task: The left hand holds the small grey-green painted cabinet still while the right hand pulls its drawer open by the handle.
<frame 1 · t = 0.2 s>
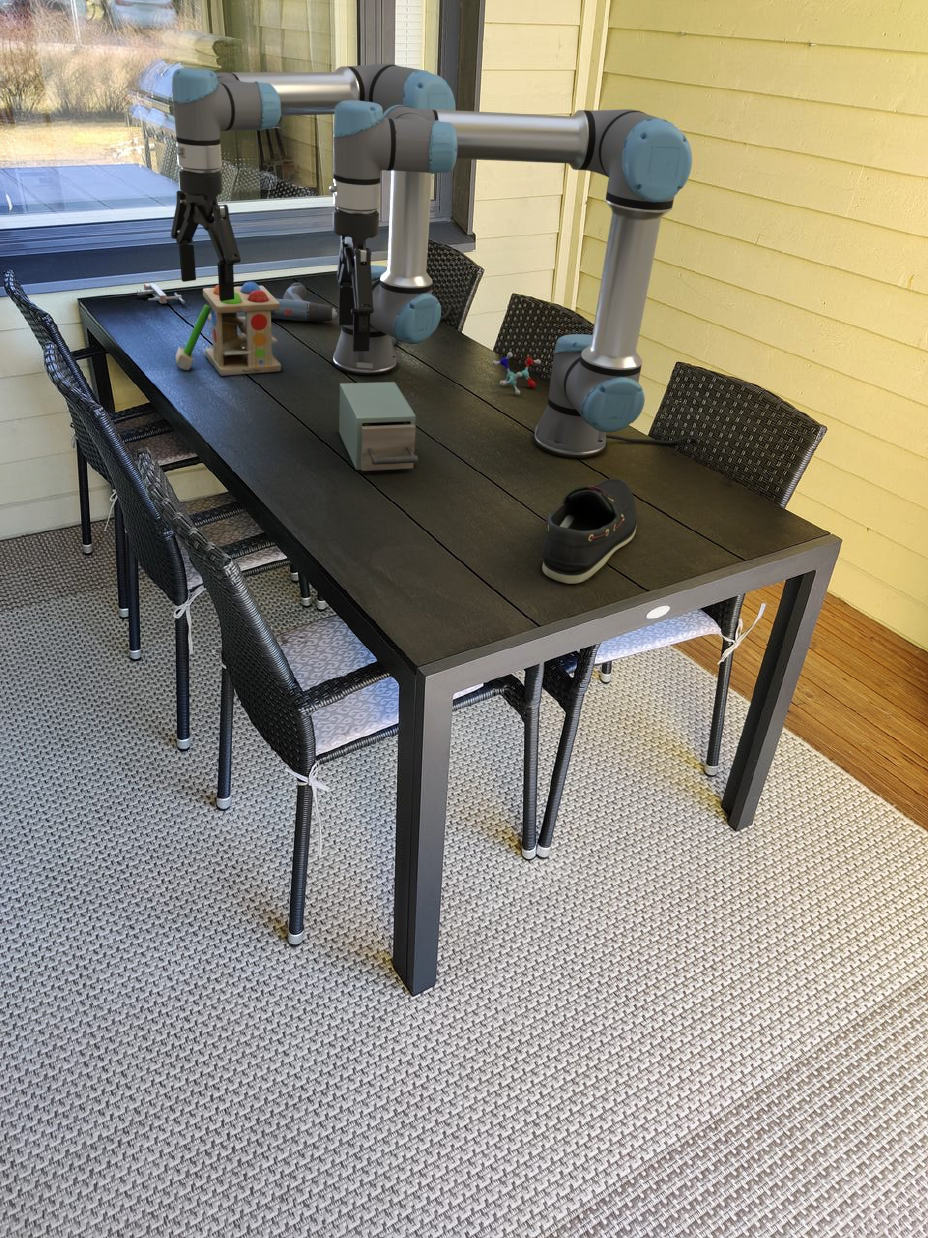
left hand: (207, 289, 186), 28 cm above the table, tool pointing down, fingers open, 13 cm apart
right hand: (353, 337, 171), 28 cm above the table, tool pointing down, fingers open, 13 cm apart
boat shoe: (588, 541, 175), on the table
cabinet: (375, 449, 199), on the table
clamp: (159, 299, 266), on the table
drawer: (382, 437, 191), point 5 cm above the table, slide at 1.4 cm
molecular model: (512, 388, 234), on the table
pounding bench toy: (225, 365, 230), on the table
power drill: (305, 313, 267), on the table
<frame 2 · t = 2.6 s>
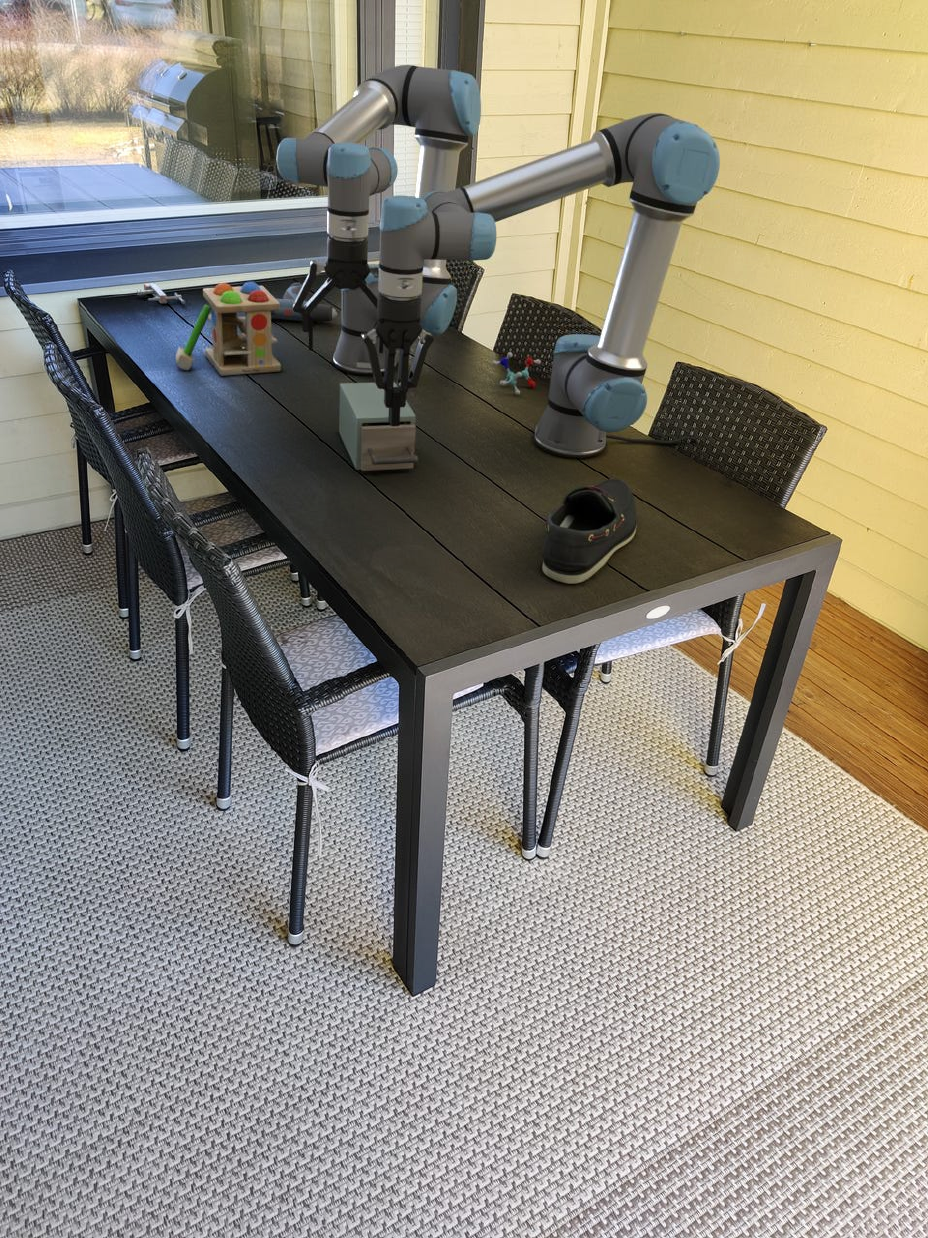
left hand: (345, 349, 192), 18 cm above the table, tool pointing down, fingers open, 13 cm apart
right hand: (393, 423, 181), 12 cm above the table, tool pointing down, fingers closed
nothing on the table moved.
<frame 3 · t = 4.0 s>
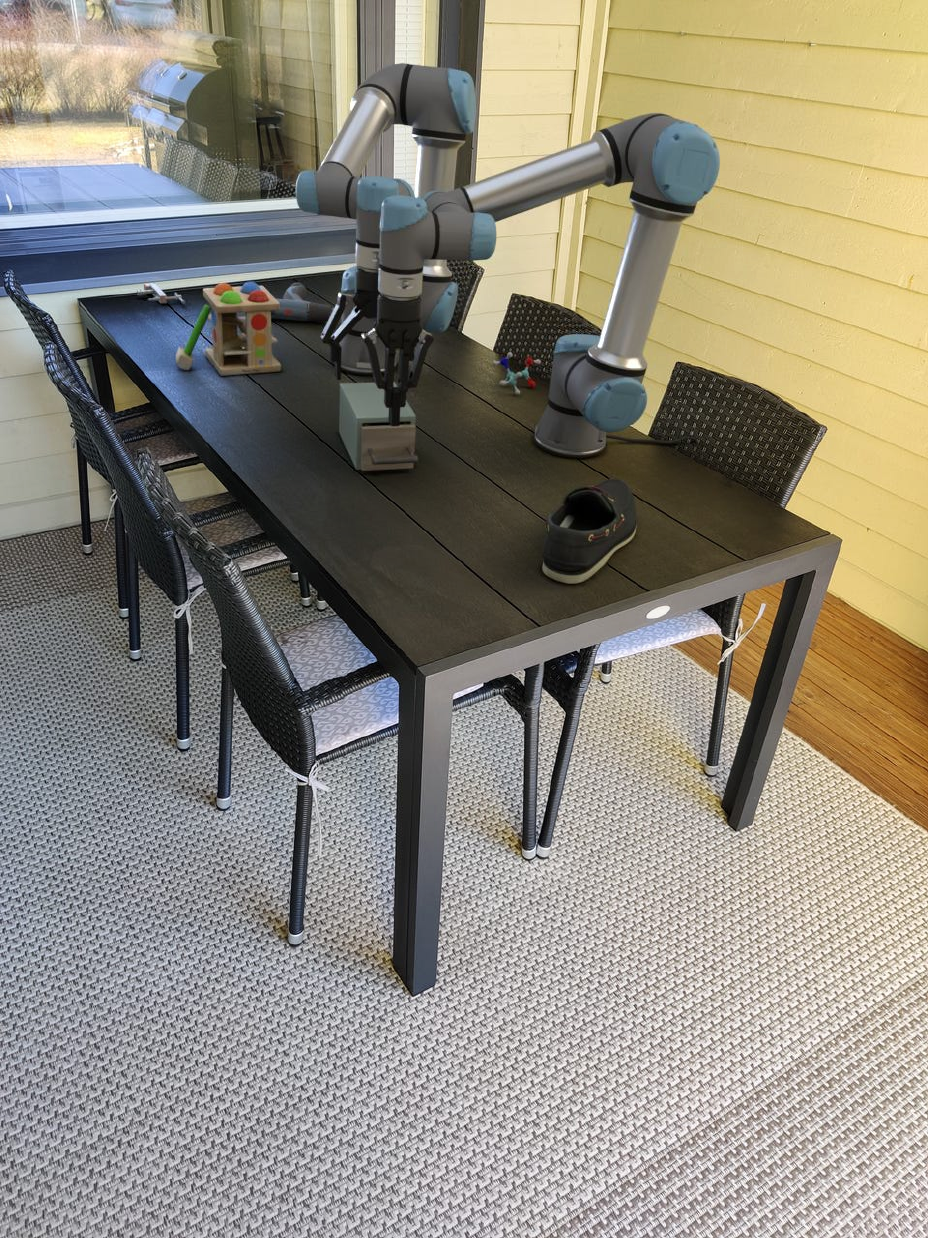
left hand: (371, 376, 195), 13 cm above the table, tool pointing down, fingers open, 13 cm apart
right hand: (393, 423, 181), 12 cm above the table, tool pointing down, fingers closed
nothing on the table moved.
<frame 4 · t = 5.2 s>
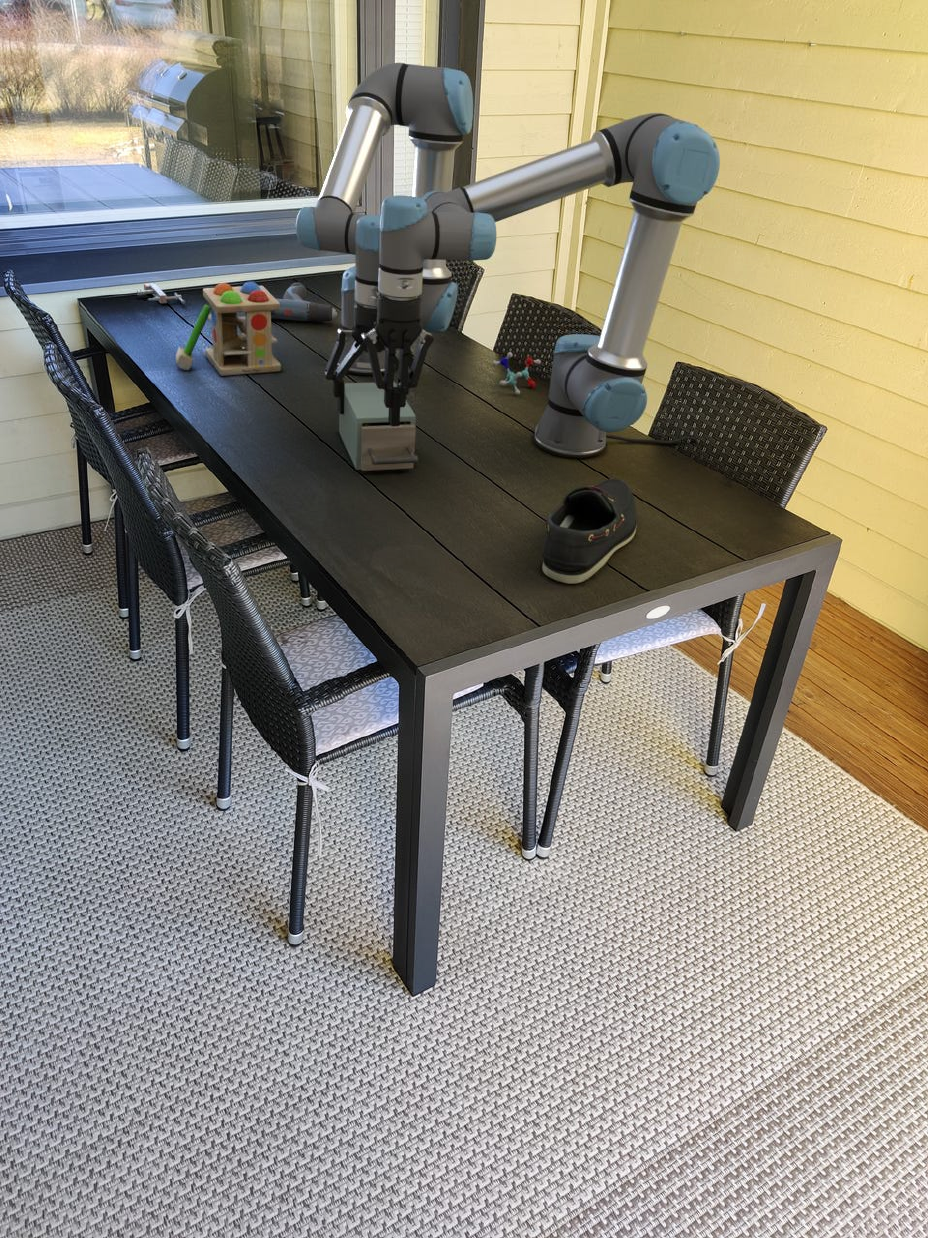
left hand: (370, 410, 200), 6 cm above the table, tool pointing down, fingers closed on cabinet, 11 cm apart
right hand: (393, 423, 181), 12 cm above the table, tool pointing down, fingers closed
cabinet: (375, 449, 199), on the table, touching left hand
everything else where it was.
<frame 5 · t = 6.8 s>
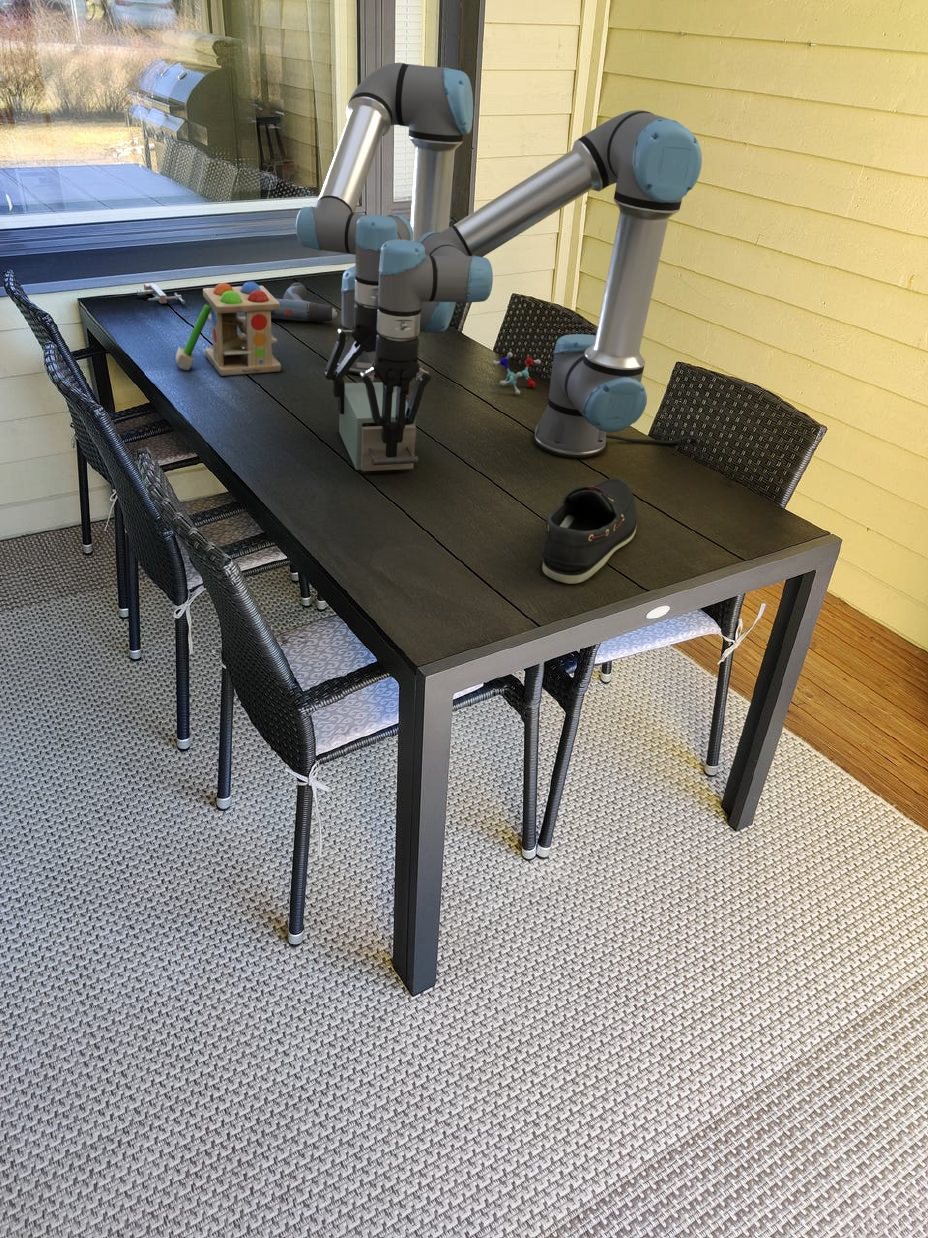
left hand: (370, 410, 200), 6 cm above the table, tool pointing down, fingers closed on cabinet, 11 cm apart
right hand: (390, 457, 185), 5 cm above the table, tool pointing down, fingers closed
cabinet: (375, 449, 199), on the table, touching left hand
everything else where it was.
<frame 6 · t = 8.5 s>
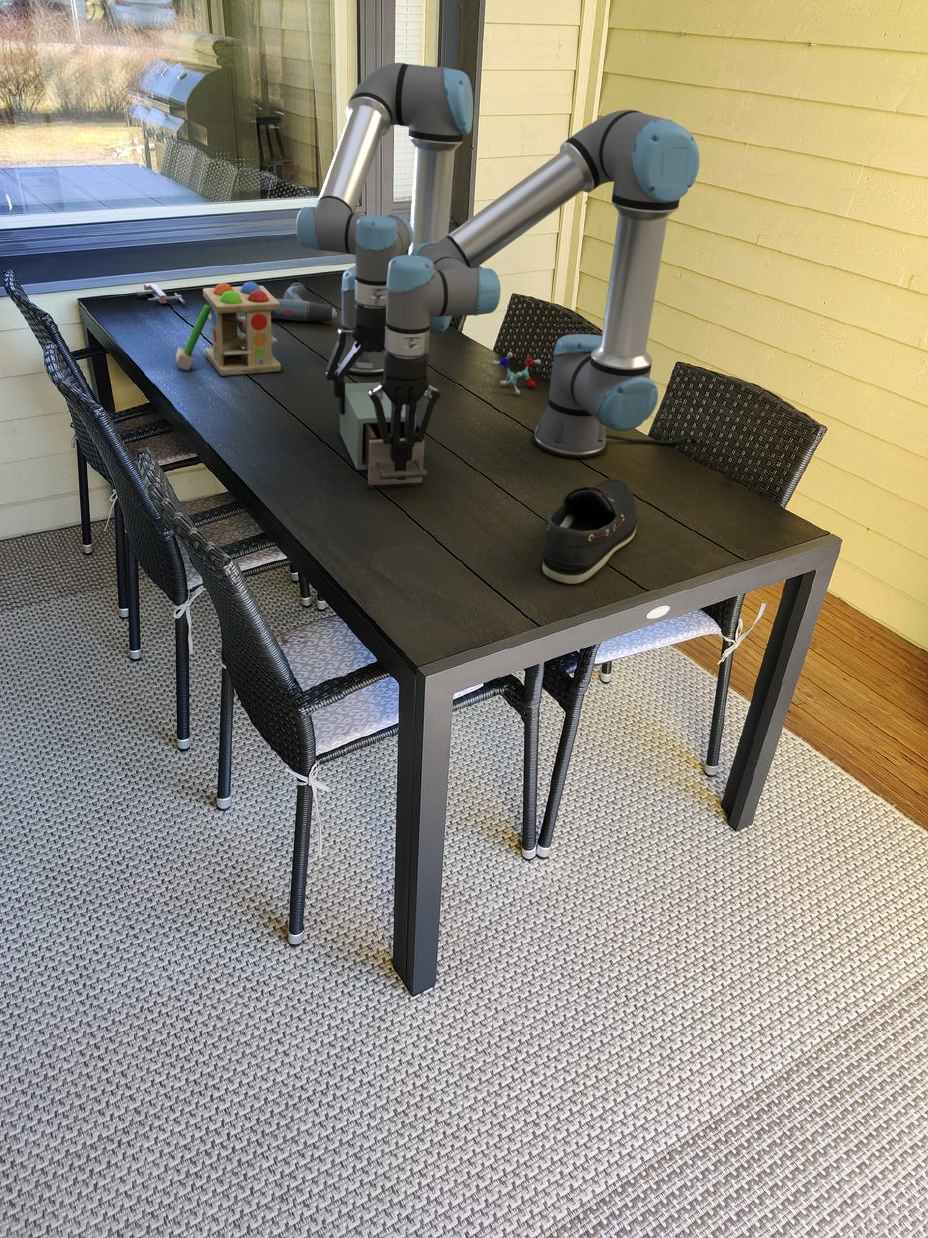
left hand: (371, 410, 200), 6 cm above the table, tool pointing down, fingers closed on cabinet, 11 cm apart
right hand: (400, 476, 181), 4 cm above the table, tool pointing down, fingers closed
cabinet: (375, 449, 199), on the table, touching left hand
drawer: (390, 450, 186), point 5 cm above the table, slide at 7.4 cm, touching right hand
everything else where it was.
when the left hand's fingers open (6 cm above the table, at t = 10.3 s): cabinet stays where it is, on the table.
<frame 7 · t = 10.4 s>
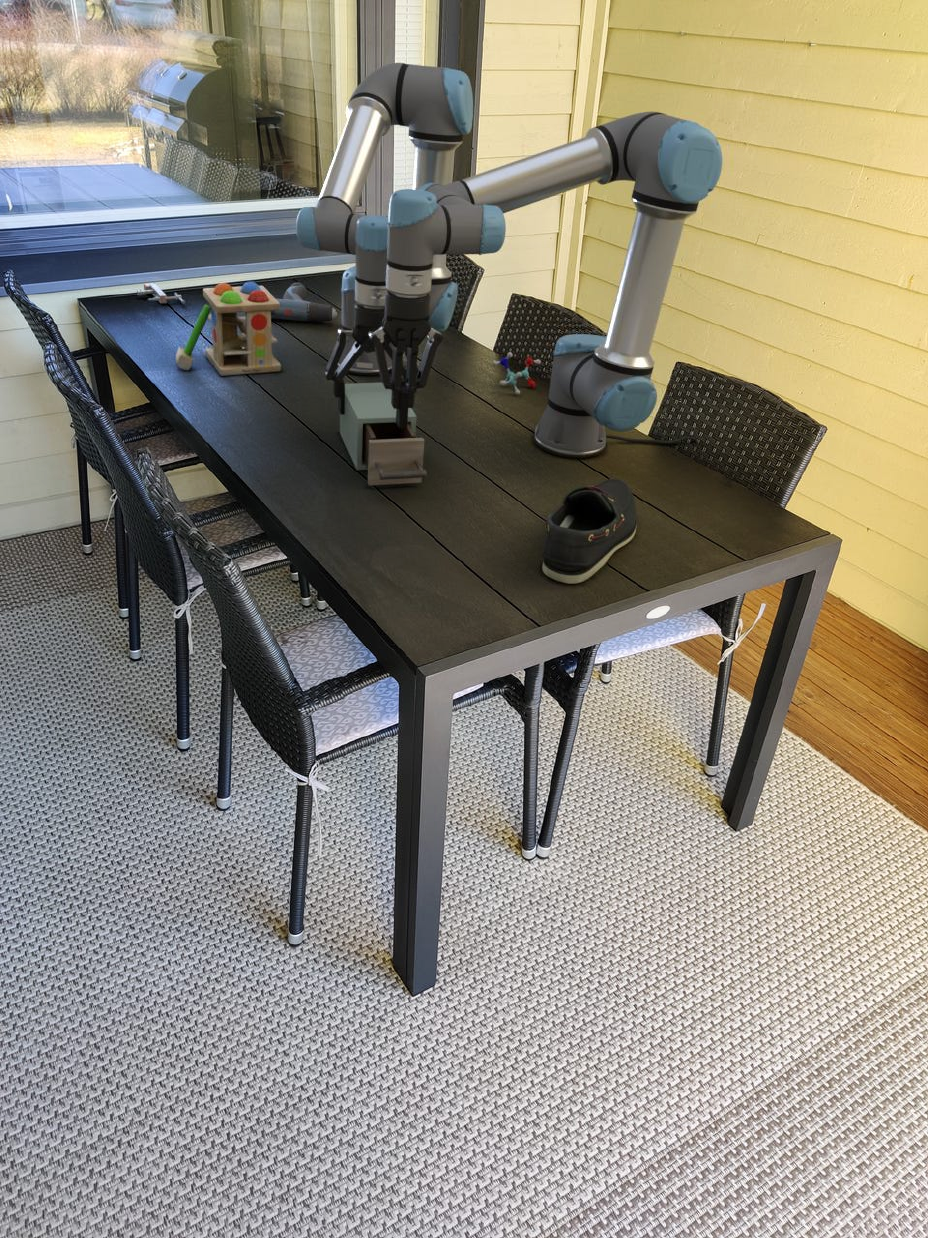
left hand: (371, 410, 200), 6 cm above the table, tool pointing down, fingers open, 11 cm apart
right hand: (401, 424, 176), 14 cm above the table, tool pointing down, fingers closed
cabinet: (375, 449, 199), on the table
drawer: (390, 450, 186), point 5 cm above the table, slide at 7.4 cm
everything else where it was.
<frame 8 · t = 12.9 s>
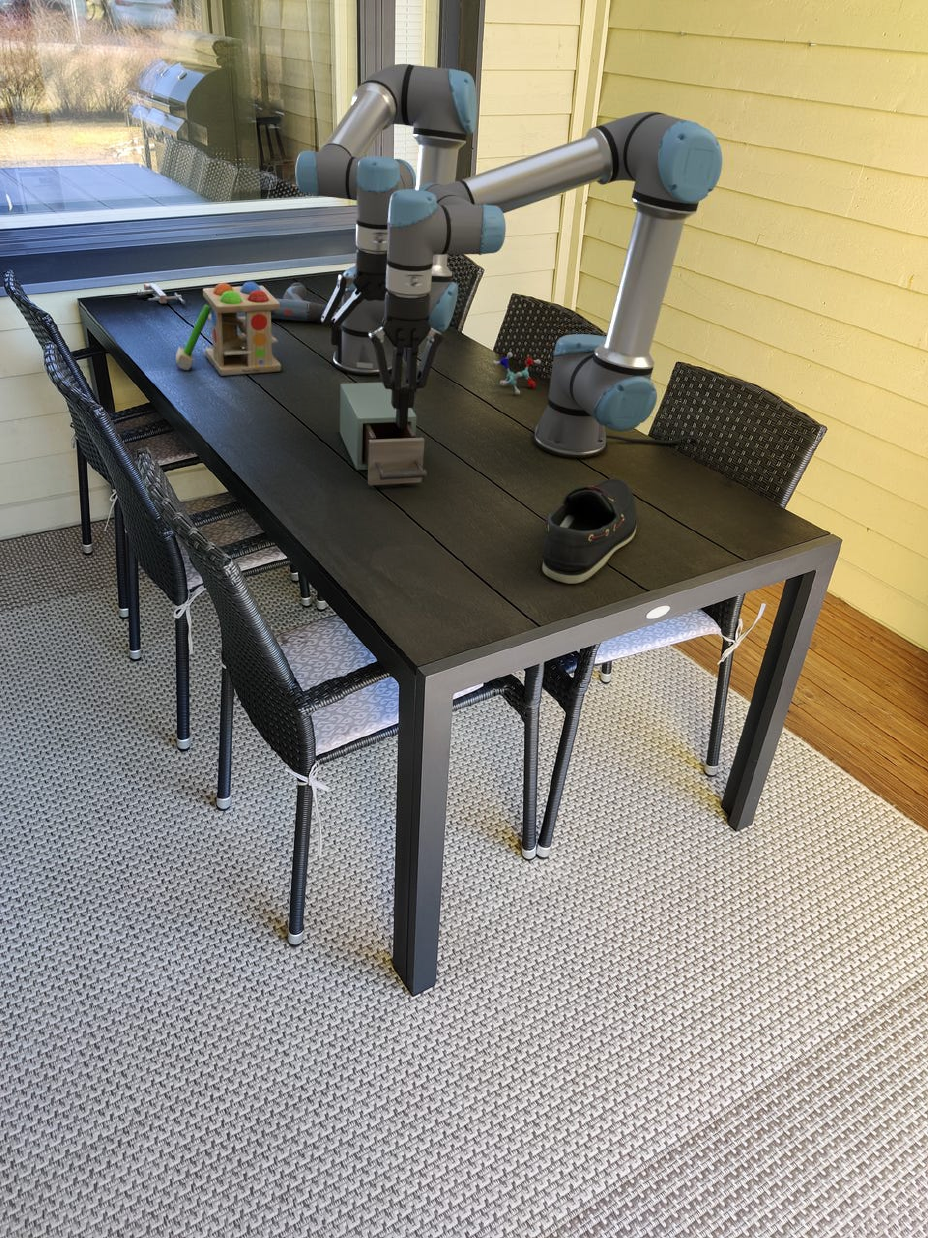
left hand: (372, 360, 194), 17 cm above the table, tool pointing down, fingers open, 13 cm apart
right hand: (401, 424, 176), 14 cm above the table, tool pointing down, fingers closed
nothing on the table moved.
at the end: drawer slide at 7.4 cm; cabinet tilted 0°; cabinet never tilted more than 1° during the clip; cabinet moved 0.1 cm from its start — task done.
